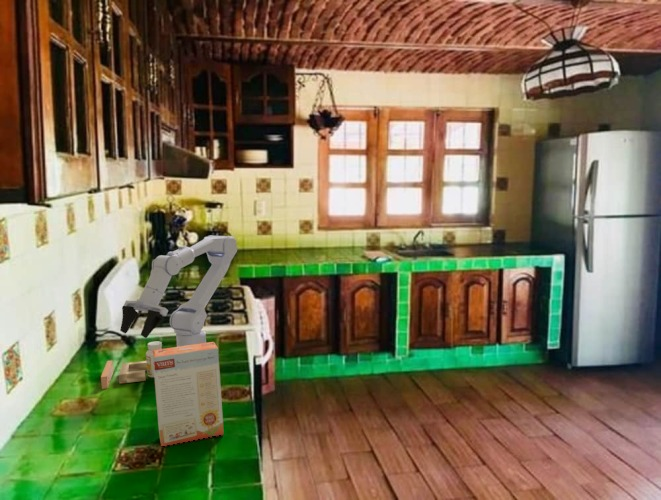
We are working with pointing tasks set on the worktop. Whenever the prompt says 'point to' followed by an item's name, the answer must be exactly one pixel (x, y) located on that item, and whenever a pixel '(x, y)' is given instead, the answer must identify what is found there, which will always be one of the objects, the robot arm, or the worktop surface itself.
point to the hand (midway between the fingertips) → (133, 334)
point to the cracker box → (188, 393)
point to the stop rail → (107, 374)
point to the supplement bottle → (151, 356)
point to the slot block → (133, 372)
